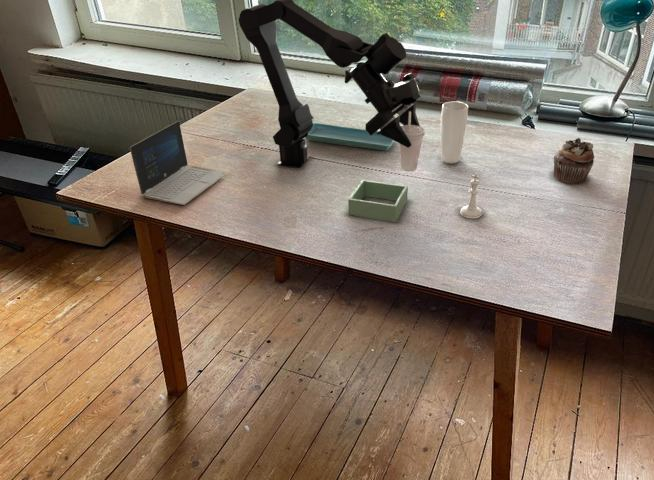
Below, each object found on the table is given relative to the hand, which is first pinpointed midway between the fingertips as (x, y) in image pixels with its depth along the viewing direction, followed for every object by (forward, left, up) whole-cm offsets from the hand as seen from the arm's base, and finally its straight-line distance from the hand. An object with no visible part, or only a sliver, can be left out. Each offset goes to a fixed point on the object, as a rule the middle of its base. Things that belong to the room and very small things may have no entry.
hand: (415, 141), depth 132 cm
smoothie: (-1, 0, -7) cm, 7 cm away
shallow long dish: (-25, +24, -13) cm, 37 cm away
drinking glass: (+5, +20, -13) cm, 24 cm away
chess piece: (+15, -7, -13) cm, 21 cm away
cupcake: (+36, +19, -13) cm, 43 cm away
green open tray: (-6, -11, -13) cm, 18 cm away
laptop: (-55, -15, -13) cm, 58 cm away
